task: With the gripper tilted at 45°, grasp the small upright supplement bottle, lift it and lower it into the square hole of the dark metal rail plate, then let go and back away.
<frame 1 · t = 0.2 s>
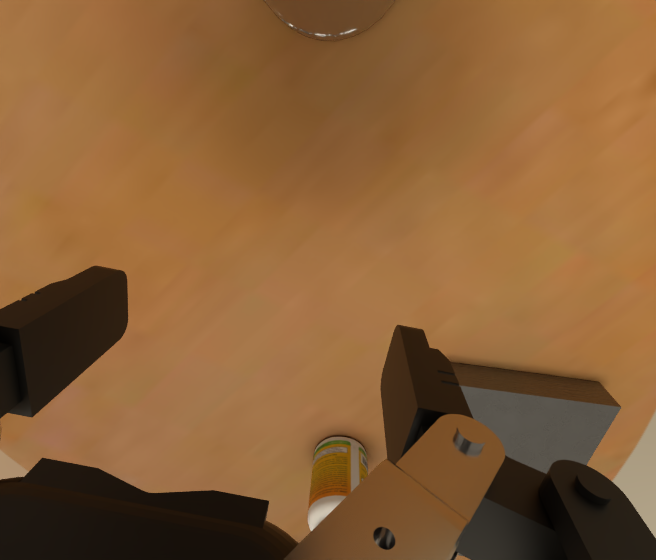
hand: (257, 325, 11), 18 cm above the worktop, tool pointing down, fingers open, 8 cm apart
supplement bottle: (340, 452, 39), on the worktop
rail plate: (482, 458, 37), on the worktop
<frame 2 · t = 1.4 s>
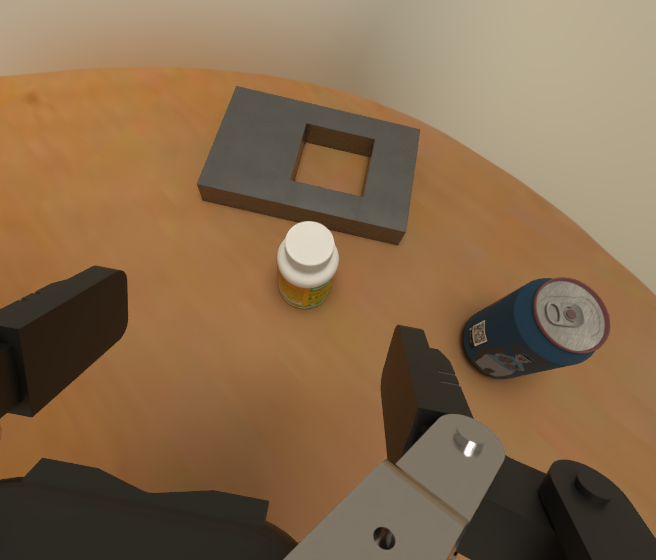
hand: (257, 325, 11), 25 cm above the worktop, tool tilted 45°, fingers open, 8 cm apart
supplement bottle: (304, 285, 39), on the worktop
soda can: (489, 345, 39), on the worktop
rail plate: (314, 171, 44), on the worktop
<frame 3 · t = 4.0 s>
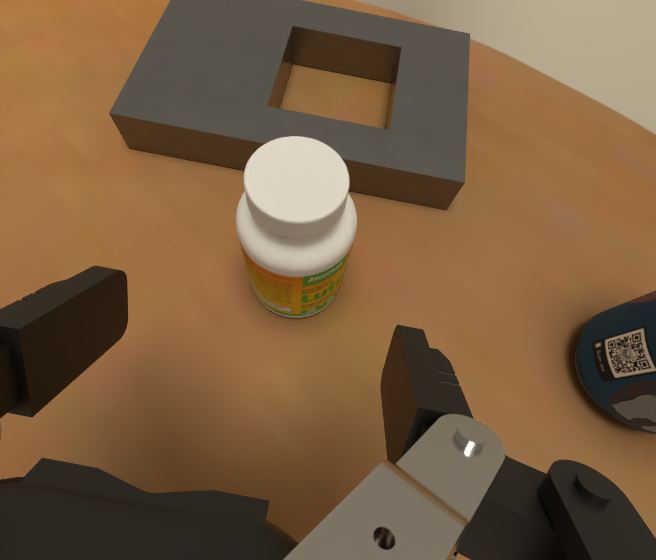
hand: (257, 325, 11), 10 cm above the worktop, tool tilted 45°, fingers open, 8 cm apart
supplement bottle: (296, 278, 23), on the worktop
soda can: (617, 371, 22), on the worktop
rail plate: (308, 104, 28), on the worktop
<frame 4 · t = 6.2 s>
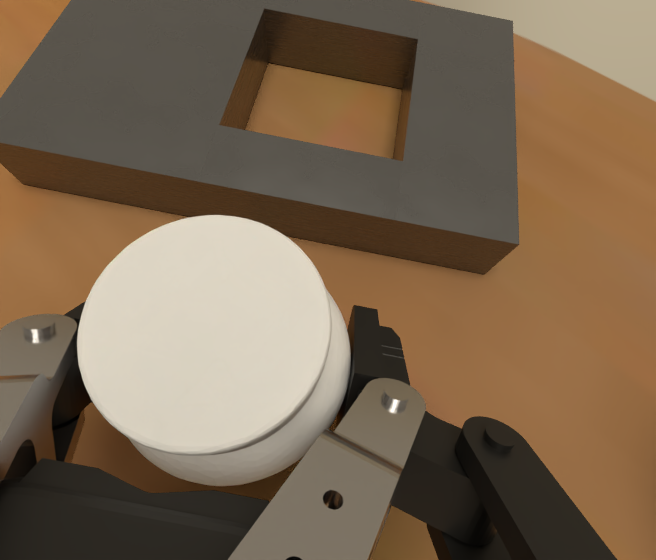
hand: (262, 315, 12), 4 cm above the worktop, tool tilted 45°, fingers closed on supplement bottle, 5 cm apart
supplement bottle: (260, 390, 15), on the worktop, touching gripper
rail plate: (286, 119, 20), on the worktop
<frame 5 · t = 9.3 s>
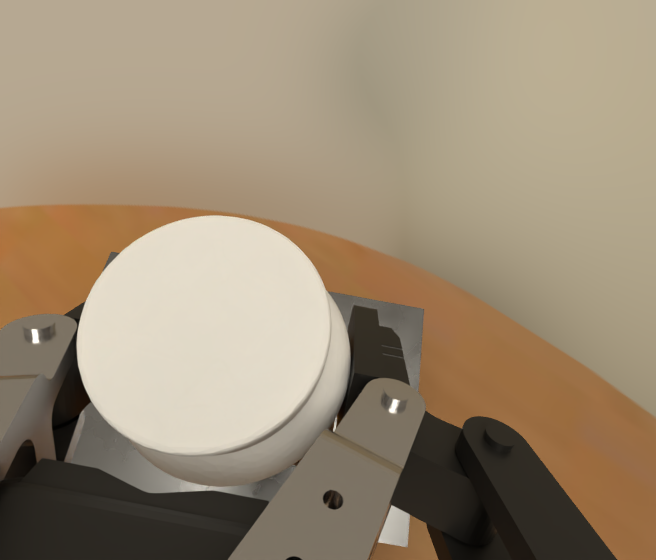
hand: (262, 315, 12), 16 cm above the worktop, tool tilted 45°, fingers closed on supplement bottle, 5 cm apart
supplement bottle: (260, 390, 15), point 12 cm above the worktop, touching gripper
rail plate: (248, 388, 26), on the worktop
when the fingers open (5 cm above the worktop, at t = 12.4 s): supplement bottle drops 1 cm, resting in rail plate.
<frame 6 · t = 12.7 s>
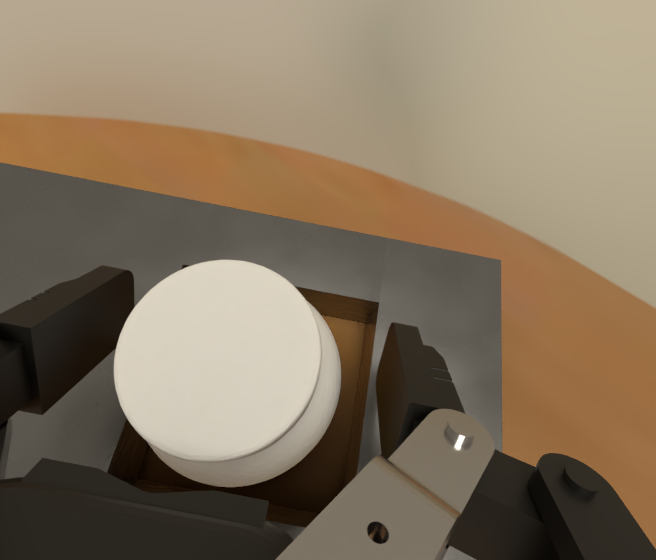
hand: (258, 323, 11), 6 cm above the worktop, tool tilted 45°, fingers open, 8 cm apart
supplement bottle: (262, 398, 16), resting in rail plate
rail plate: (217, 384, 16), on the worktop
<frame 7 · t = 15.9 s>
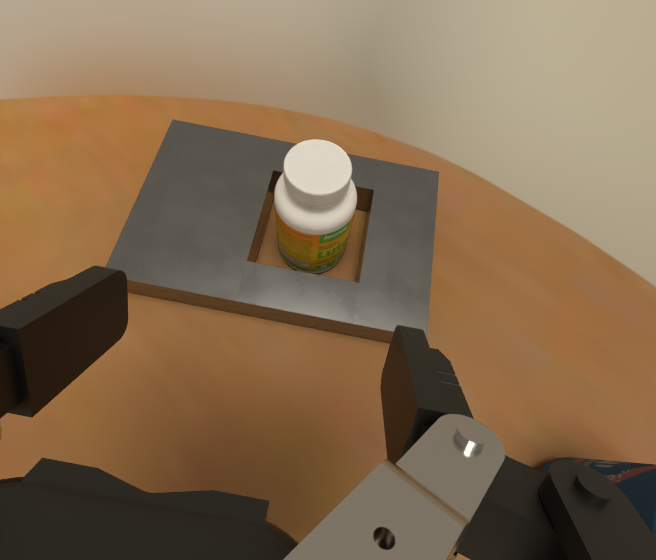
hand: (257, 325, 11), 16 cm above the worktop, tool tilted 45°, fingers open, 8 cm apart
supplement bottle: (311, 246, 31), resting in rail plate
soda can: (565, 514, 25), on the worktop
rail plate: (288, 237, 30), on the worktop
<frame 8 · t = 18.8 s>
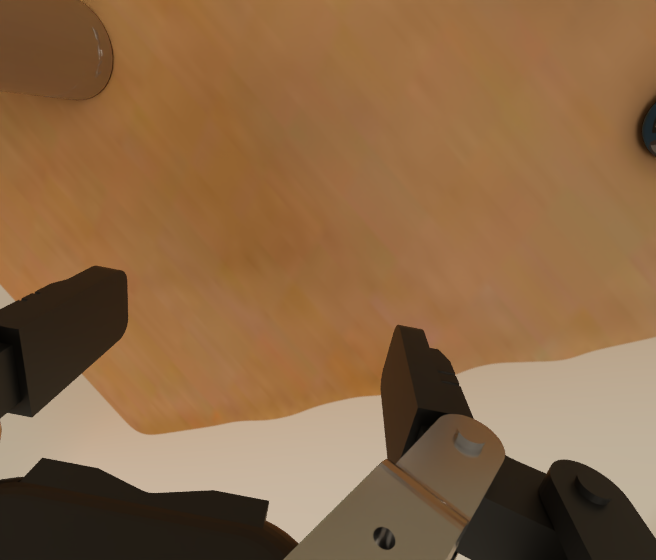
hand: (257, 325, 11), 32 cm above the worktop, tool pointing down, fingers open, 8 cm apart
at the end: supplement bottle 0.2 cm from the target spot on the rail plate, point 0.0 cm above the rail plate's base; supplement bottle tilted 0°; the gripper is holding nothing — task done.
